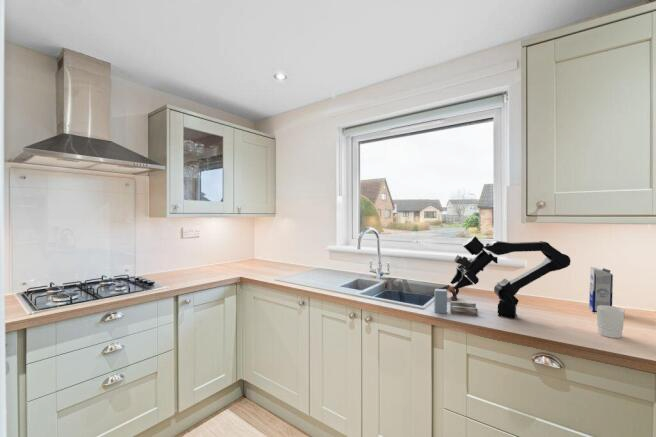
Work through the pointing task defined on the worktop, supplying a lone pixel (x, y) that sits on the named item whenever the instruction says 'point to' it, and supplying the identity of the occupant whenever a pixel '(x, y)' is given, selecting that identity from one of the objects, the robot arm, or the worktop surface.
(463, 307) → the bottom track
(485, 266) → the robot arm
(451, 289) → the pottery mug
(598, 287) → the milk carton
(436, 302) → the grey rectangular block
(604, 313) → the white cup
